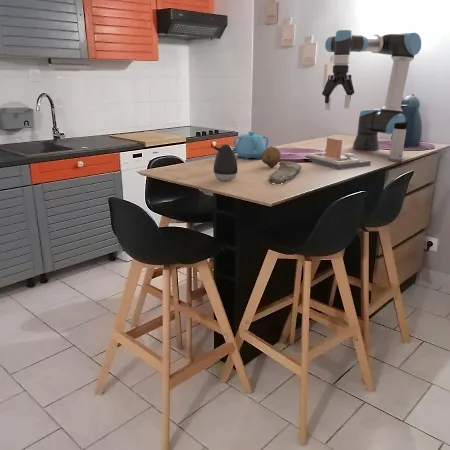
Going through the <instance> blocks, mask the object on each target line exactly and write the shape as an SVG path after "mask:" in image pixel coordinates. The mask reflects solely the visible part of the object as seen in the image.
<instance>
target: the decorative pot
mask: <svg viewBox="0 0 450 450" xmlns="http://www.w3.org/2000/svg"><path fill="white" fill-rule="evenodd" d="M264 138H265V139H266V142H265V141H264ZM236 140H237V142H236ZM269 140H270V139H269V137H268V136H266V135H260V134H257V133H255V131H248V133H247V134H246V133H245V134H241V135H240V136H239V135H238V136H235V137H234V138H233V140H232V141H233V146H234V147H232V149H233V151H234V154H237V155H238V156H239V157H241V158H243V160H249V159H250V158H252V159H254V158H255V159H256V160H259V159H261V158H262V154H263V152H264V150H265V149H267V148H268V145H269V142H270V141H269Z"/></svg>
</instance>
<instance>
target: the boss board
mask: <svg viewBox="0 0 450 450" xmlns="http://www.w3.org/2000/svg"><path fill="white" fill-rule="evenodd" d="M324 152H326V148H324ZM341 155H343V156H345V157H347V159H351V158H355V159H359V160H360V162H355V163H348V164H340V165H338V164H335V163H331V162H327V161H323V160H320V159H316V158H312V157H308V156H307V155H304V156H303V158H304V157H306V158H310V159H311V161H312V162H311V163H315V164H317V163H318V165H321V164H322V166H325V165H326V166H325V167H328V166H330V168H332V167H334V168H333V169H335V168H337V169H336V170H342V169H341V168H345V169H349V168H350V167H352V168H356V167H357V168H358V167H364V166H371V161H372V160H368V159H364V158H359V157H356V156H355V157H354V153H349V152H346V153H344V154H343V153H341ZM319 156H321V155H319ZM338 161H341V160H338ZM345 161H346V160H345Z"/></svg>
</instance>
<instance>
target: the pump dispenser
mask: <svg viewBox="0 0 450 450" xmlns="http://www.w3.org/2000/svg"><path fill="white" fill-rule="evenodd" d="M212 149H214V150H216V151H217V153H216V156H215V159H214V162H213V163H214V164H213V173H214V176H215V178H216V179H217V180H218V181H220V182H231V181H233V180H234V179H235V178H236V176H237V174H238V162H237V161H238V160H237V157H236V153H234V151H235V150H234V151H233V147H232V146H231V145H230V144H226V143H224V144H222V145H221V146H219V147H218V146H216V145H214V146H212Z"/></svg>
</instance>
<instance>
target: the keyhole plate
mask: <svg viewBox="0 0 450 450" xmlns="http://www.w3.org/2000/svg"><path fill="white" fill-rule="evenodd" d="M342 144H343V139H340V138H334V137H326V147H325V149H326V152H325V151H321V152H312V153H307V154H306V156H308V157H312V158H316V159H320V160H323V161H327V162H331V163H335V164H338V165H340V164H348V163H355V162H360V160H359V159H355V158H351V159H347V157H345V156H343V155H344V154H343V155H341V154H342V148H343V146H342ZM319 155H321V156H319ZM338 160H341V161H338ZM345 160H346V161H345Z"/></svg>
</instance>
